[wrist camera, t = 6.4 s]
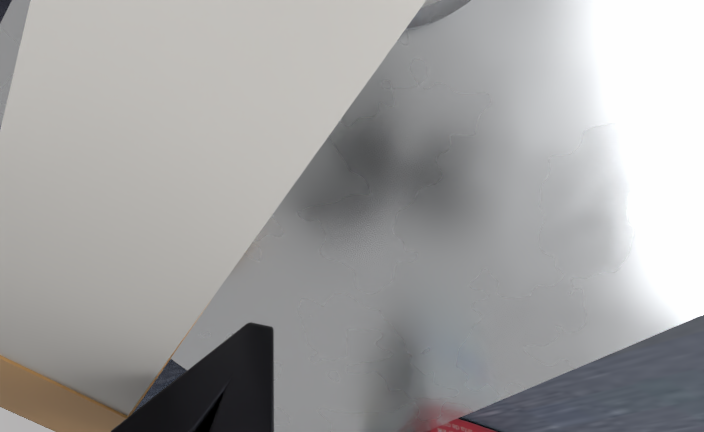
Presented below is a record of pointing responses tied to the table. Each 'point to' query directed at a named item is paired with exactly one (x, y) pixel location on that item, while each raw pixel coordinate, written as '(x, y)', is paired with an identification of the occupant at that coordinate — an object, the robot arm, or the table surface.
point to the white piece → (153, 175)
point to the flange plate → (477, 213)
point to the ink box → (460, 427)
